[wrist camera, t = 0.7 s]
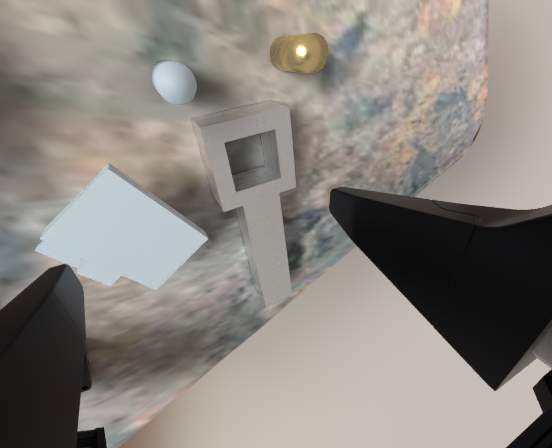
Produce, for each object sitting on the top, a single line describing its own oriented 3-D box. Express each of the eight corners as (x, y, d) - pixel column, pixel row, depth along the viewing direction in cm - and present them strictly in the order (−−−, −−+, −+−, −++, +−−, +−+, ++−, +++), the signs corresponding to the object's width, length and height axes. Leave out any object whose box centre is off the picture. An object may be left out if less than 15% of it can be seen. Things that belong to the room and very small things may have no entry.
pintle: (291, 73, 20) (322, 76, 17) (267, 66, 19) (295, 69, 16) (298, 41, 19) (332, 38, 16) (272, 32, 18) (303, 28, 15)
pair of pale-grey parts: (190, 267, 24) (202, 304, 21) (46, 283, 19) (28, 335, 16) (203, 68, 17) (224, 72, 14) (-17, 18, 12) (-73, 4, 9)
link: (190, 118, 18) (200, 127, 16) (270, 100, 20) (289, 106, 18) (241, 293, 29) (252, 314, 26) (291, 271, 30) (304, 289, 28)
